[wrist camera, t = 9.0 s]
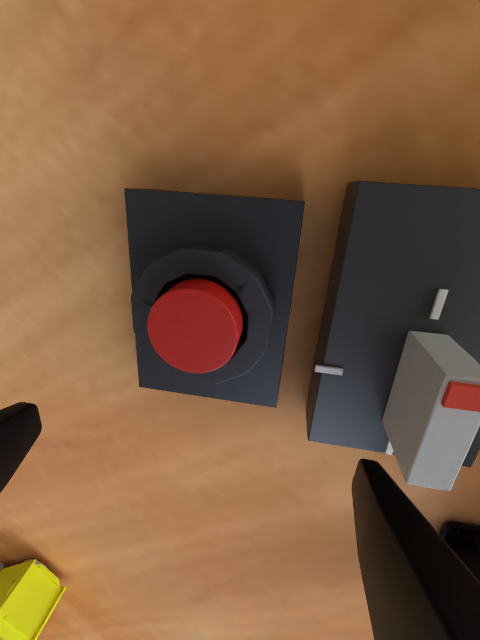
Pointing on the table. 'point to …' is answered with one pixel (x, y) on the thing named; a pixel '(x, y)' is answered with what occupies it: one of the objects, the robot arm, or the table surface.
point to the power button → (195, 326)
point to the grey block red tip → (433, 409)
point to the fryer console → (392, 302)
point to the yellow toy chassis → (26, 599)
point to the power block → (216, 281)
